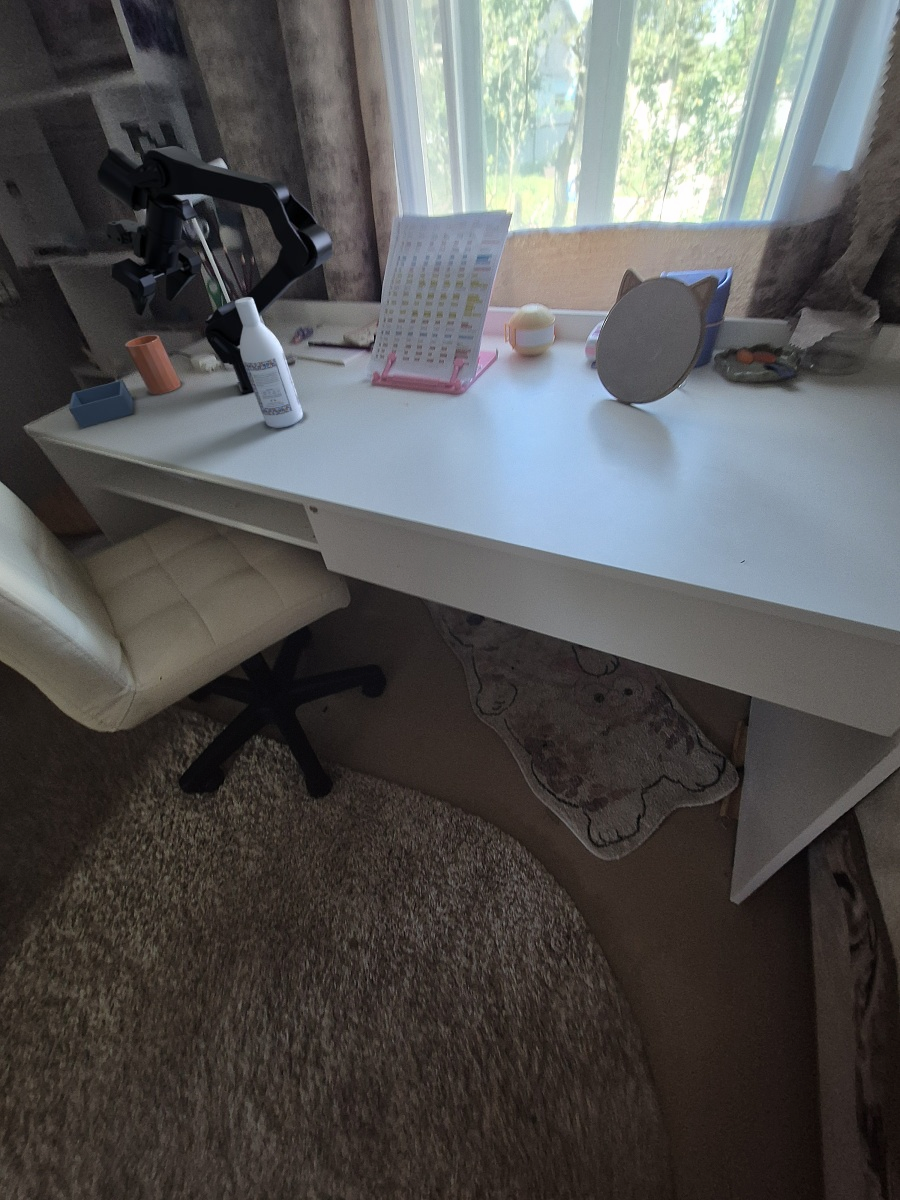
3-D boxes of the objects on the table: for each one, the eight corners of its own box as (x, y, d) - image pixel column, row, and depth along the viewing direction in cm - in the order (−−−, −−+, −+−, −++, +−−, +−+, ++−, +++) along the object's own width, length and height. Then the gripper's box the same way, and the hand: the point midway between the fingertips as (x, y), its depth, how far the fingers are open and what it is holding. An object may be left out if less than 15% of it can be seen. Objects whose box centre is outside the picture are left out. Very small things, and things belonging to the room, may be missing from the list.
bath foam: (281, 410, 100) (241, 293, 86) (311, 413, 97) (274, 293, 84) (258, 427, 96) (212, 306, 82) (288, 430, 93) (246, 306, 79)
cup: (181, 388, 115) (159, 340, 108) (149, 397, 114) (125, 349, 107) (179, 379, 120) (158, 332, 113) (149, 387, 118) (125, 340, 111)
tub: (132, 414, 107) (122, 395, 105) (80, 428, 105) (68, 409, 102) (132, 398, 114) (122, 379, 112) (83, 411, 112) (72, 392, 109)
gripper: (154, 189, 98) (147, 268, 109) (80, 207, 86) (80, 294, 97) (209, 229, 101) (196, 302, 112) (145, 252, 88) (138, 332, 99)
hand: (154, 306), depth 105 cm, fingers open, 9 cm apart
